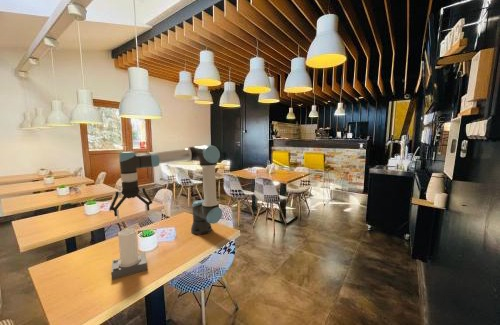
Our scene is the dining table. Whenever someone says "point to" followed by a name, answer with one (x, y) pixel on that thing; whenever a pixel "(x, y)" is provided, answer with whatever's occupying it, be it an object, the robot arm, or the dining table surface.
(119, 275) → the camera body
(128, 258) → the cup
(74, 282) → the dining table surface
